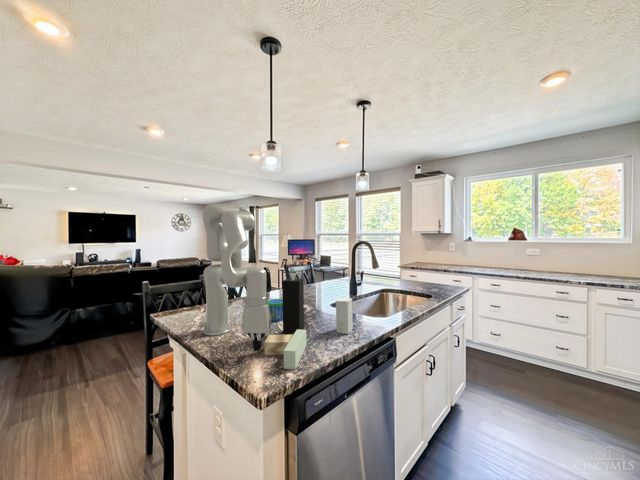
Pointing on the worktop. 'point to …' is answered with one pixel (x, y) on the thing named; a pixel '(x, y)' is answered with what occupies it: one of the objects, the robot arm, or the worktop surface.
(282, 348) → the maple block
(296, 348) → the board
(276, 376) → the worktop surface
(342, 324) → the skincare box
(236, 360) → the worktop surface
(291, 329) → the tall black block
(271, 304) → the snack cup
